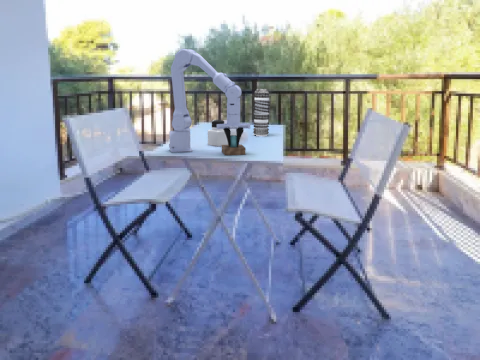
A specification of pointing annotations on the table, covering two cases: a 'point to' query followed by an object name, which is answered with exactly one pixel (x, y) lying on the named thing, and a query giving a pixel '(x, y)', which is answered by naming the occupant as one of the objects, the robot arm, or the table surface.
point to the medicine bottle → (217, 135)
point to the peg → (233, 140)
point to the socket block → (233, 150)
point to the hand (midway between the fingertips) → (233, 145)
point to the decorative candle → (261, 112)
